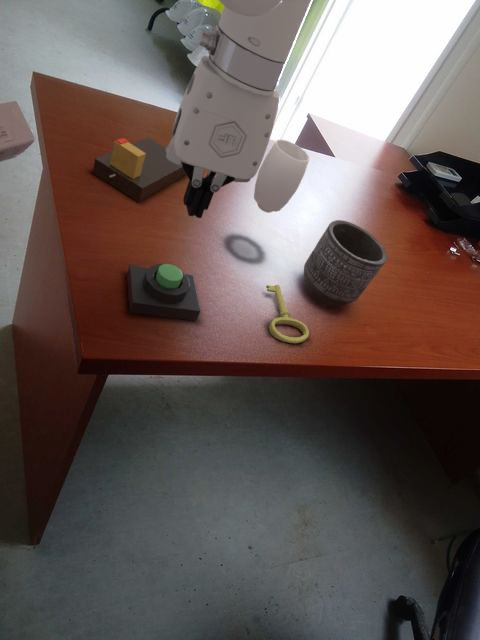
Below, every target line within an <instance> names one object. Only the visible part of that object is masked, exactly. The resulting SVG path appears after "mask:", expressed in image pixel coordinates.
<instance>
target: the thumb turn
mask: <svg viewBox="0 0 480 640" xmlns="http://www.w3.org/2000/svg"><path fill="white" fill-rule="evenodd" d="M132 144H133V143H130V142H129V140H128V139H126V138H124V137H122V138H119V139H115V140H114V141H113V146H112V151H111V152H112V156H111V161H110V165H112V166H113V167H115V168H116V169H118V170H120V171H121V172H123V173H124V174H126V175H127V176H129V177H130V178H132V179H134V178H136V177H138V176H140V175H141V171H142V167H143V163H144V159H145V155H146V153H144V152H143V151H141V150H140V149H138V148H137V147H135V146H134V145H132Z"/></svg>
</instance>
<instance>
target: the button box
mask: <svg viewBox="0 0 480 640" xmlns="http://www.w3.org/2000/svg"><path fill="white" fill-rule="evenodd" d="M161 265H163V263H156V264H153V265H150V266H149V267H145V266H140V265H134V264H129V266H128V270H127V273H126V281H127V295H128V309H129V313H130V314H137V315H145V316H153V317H162V318H170V319H177V320H186V321H193V322H196V321H197V320H198V318H199V316H200V313H201V307H200V302H199V297H198V293H197V288H196V283H195V277H194V275H192V274H188V273H184V272H183V271H182V270H181V272H182V274H183V277H182V280H181V282H180V285H179V287H178V288H176V289H168V288H165V287H163V286H161V285H159V284H158V283H157V281H156V274H157V272H158V269H159V267H160V266H161Z"/></svg>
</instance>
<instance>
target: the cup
mask: <svg viewBox="0 0 480 640" xmlns="http://www.w3.org/2000/svg"><path fill="white" fill-rule="evenodd" d="M309 162H310V157H309V154H308V153H307V151H305V150H304V149H303V148H302V147H301V146H299V145H297V144H295V143H294V142H292V141H289V140H286V139H277V140H276V141H275V142H274V143H273V145H272V146H271V148H270V149H269V150H268V152H267V154H266V156H265V158H264V159H263V161H262V163H261V165H260V167H259V169H258V172H257V177H256V180H255V184H254V190H253V191H254V192H253V199H254V200H255V202H256V204H257V207H258V209H259V210H261V211H263V213H267V214H269V213H273V212H275V213H276V212H280V211H281V210H282V209H283V208H284V207H285V206H286V205H287V204H288V203H289V201H290V200H291V199H292V197H293V196H294V194H296V192H297V191H298V189H299V187H300V184H301V183H302V180H303V178H304V176H305V174H306V171H307V167H308V165H309Z"/></svg>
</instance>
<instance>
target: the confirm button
mask: <svg viewBox="0 0 480 640" xmlns="http://www.w3.org/2000/svg"><path fill="white" fill-rule="evenodd" d="M162 264H163V263H162ZM181 271H182V270H181V269H180V268H179V267H178V266H175V265H173V264H169V263H164V264H163V265H161V266H160V267H159V269H158V272H157V274H156V281H157V283H158V284H159V285H161V286H163V287H165V288H168V289H176V288H178V287H179V285H180V282H181V280H182V277H183V274H182V272H183V271H182V272H181Z"/></svg>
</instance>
